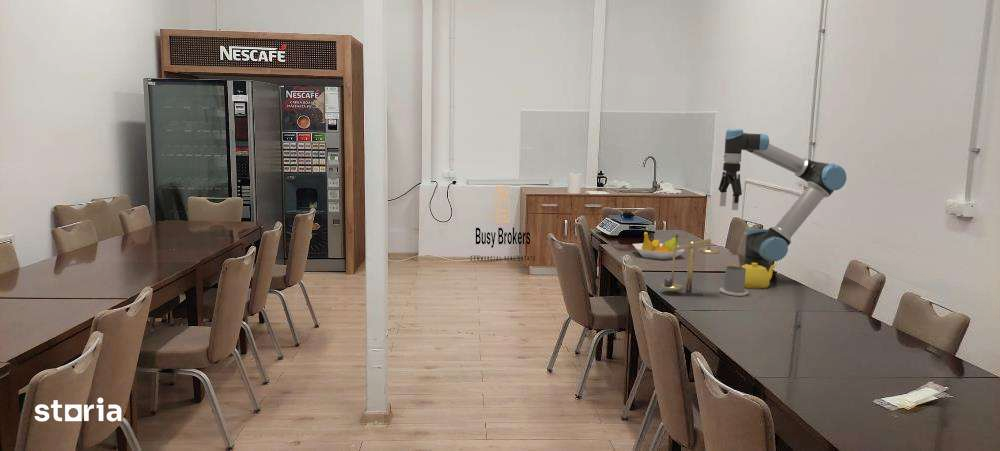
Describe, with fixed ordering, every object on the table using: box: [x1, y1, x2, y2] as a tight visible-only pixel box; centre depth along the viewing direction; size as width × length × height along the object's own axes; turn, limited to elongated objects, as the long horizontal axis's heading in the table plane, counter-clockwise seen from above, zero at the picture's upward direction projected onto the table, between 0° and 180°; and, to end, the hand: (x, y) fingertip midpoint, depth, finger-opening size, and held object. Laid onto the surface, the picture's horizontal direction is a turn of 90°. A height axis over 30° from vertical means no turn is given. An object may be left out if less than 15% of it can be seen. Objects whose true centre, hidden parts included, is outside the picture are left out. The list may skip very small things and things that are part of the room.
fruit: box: [632, 231, 686, 261], centre depth 391 cm, size 30×26×14 cm
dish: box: [719, 286, 749, 297], centre depth 312 cm, size 12×12×1 cm
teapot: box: [731, 263, 778, 290], centre depth 327 cm, size 22×16×11 cm
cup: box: [723, 265, 746, 293], centre depth 311 cm, size 8×8×10 cm
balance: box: [660, 238, 721, 297], centre depth 307 cm, size 24×9×24 cm, turn 96°
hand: (728, 208), depth 331 cm, fingers open, 13 cm apart
